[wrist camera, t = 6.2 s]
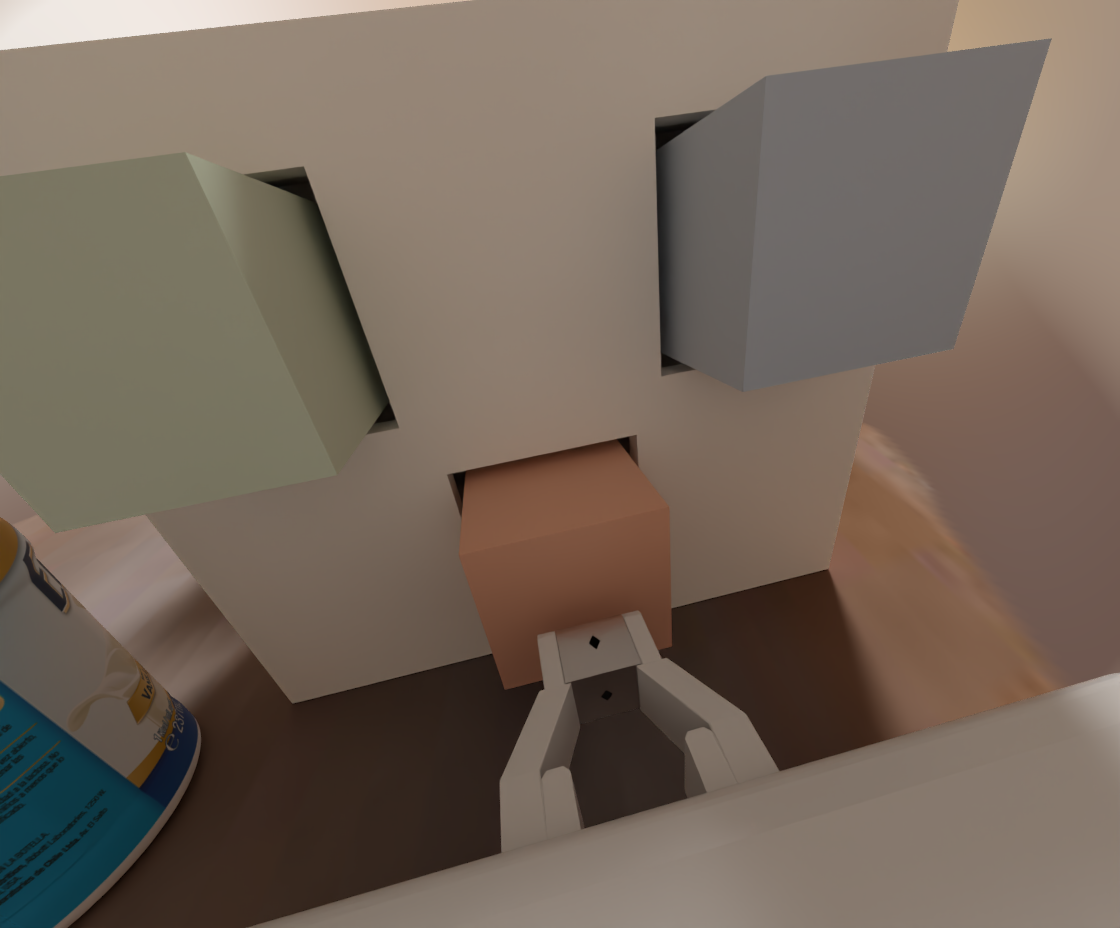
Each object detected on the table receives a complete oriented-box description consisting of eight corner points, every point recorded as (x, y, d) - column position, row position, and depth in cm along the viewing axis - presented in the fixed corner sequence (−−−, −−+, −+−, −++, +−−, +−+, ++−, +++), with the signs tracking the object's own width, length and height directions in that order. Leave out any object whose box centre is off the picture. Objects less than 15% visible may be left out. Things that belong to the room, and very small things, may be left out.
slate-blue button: (742, 391, 10) (766, 75, 7) (652, 348, 15) (646, 157, 12) (953, 348, 10) (1051, 38, 8) (795, 321, 16) (820, 131, 13)
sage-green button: (55, 533, 9) (-247, 208, 6) (218, 431, 14) (102, 236, 11) (337, 475, 9) (185, 151, 6) (391, 398, 14) (321, 204, 12)
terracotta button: (504, 689, 13) (458, 554, 11) (498, 570, 19) (466, 459, 16) (672, 646, 14) (669, 507, 11) (620, 542, 19) (609, 430, 16)
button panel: (292, 703, 17) (-199, 71, 8) (358, 552, 27) (172, 178, 17) (828, 568, 20) (970, -53, 10) (718, 472, 29) (736, 101, 19)
